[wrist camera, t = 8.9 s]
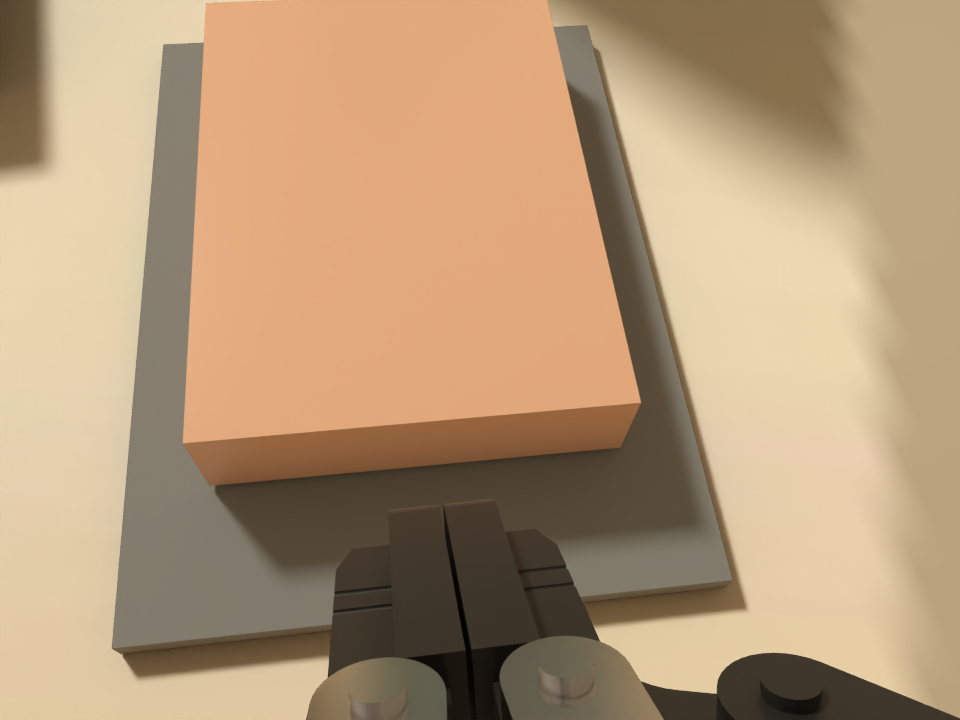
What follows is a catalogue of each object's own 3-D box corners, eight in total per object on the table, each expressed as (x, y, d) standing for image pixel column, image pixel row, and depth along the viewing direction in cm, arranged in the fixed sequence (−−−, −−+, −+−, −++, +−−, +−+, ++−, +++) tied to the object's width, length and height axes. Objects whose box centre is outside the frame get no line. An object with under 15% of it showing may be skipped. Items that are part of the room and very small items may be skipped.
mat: (120, 654, 19) (111, 648, 19) (168, 59, 28) (163, 44, 28) (725, 587, 21) (732, 580, 20) (584, 39, 30) (587, 25, 29)
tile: (183, 443, 18) (205, 3, 25) (211, 488, 21) (225, 74, 27) (641, 402, 19) (544, -11, 26) (619, 450, 22) (535, 59, 28)
